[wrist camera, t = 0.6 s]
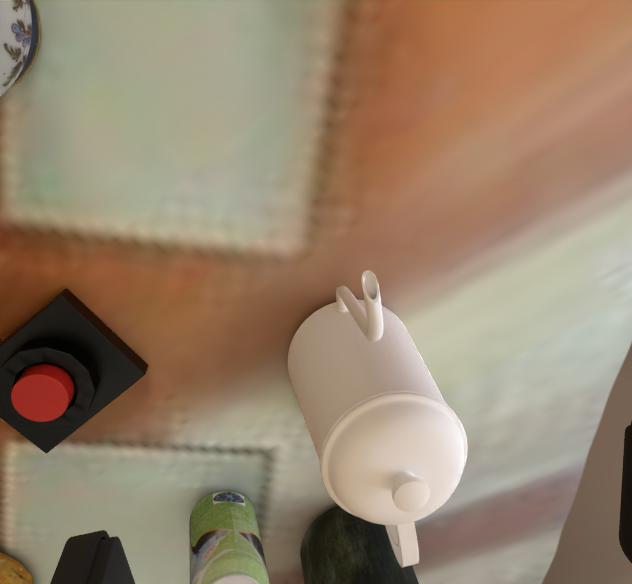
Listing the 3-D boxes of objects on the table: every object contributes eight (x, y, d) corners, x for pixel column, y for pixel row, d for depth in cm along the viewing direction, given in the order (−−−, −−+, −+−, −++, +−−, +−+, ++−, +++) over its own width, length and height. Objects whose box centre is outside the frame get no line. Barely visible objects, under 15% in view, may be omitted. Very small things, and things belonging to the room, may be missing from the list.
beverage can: (181, 528, 52) (167, 646, 41) (208, 466, 50) (201, 571, 39) (244, 543, 54) (246, 661, 43) (272, 483, 52) (283, 589, 41)
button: (48, 419, 43) (41, 431, 42) (7, 385, 42) (-2, 397, 40) (86, 388, 43) (80, 400, 41) (46, 353, 41) (38, 364, 40)
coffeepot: (386, 195, 44) (486, 259, 27) (424, 450, 53) (518, 624, 35) (253, 225, 44) (266, 310, 26) (314, 478, 52) (354, 670, 35)
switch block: (52, 442, 47) (38, 467, 44) (-35, 372, 44) (-56, 394, 41) (148, 365, 46) (142, 385, 43) (66, 287, 43) (53, 303, 40)
